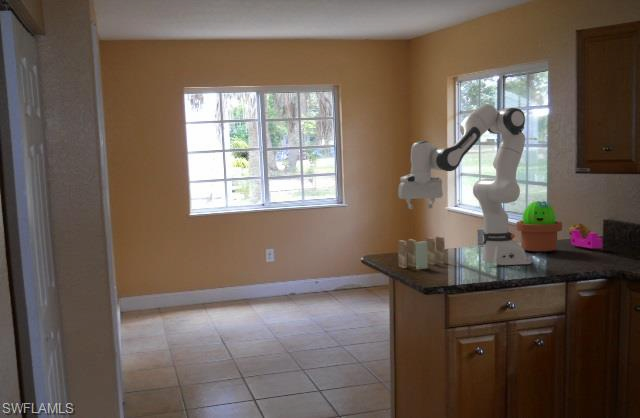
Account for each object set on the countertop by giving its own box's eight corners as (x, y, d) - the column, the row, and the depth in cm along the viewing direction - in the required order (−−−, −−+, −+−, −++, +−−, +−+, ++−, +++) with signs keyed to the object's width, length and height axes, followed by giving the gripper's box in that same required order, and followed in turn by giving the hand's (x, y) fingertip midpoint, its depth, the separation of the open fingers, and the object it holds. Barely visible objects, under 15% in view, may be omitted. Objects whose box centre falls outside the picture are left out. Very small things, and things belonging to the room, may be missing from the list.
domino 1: (411, 264, 306) (410, 239, 305) (416, 266, 302) (416, 240, 300) (408, 265, 306) (407, 239, 304) (413, 266, 301) (413, 240, 300)
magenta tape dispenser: (601, 247, 336) (601, 232, 336) (591, 248, 334) (591, 233, 334) (581, 243, 351) (581, 229, 350) (571, 244, 349) (571, 230, 348)
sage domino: (416, 268, 296) (415, 242, 295) (425, 267, 298) (425, 241, 297) (417, 269, 295) (417, 242, 294) (427, 268, 297) (427, 241, 296)
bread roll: (564, 235, 380) (564, 221, 379) (579, 234, 382) (579, 220, 382) (579, 238, 367) (579, 223, 367) (594, 237, 370) (594, 222, 369)
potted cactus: (516, 245, 351) (516, 198, 348) (560, 245, 345) (560, 197, 342) (516, 252, 330) (516, 202, 327) (563, 252, 324) (563, 201, 321)
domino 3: (438, 261, 312) (438, 236, 311) (444, 263, 307) (444, 237, 306) (436, 261, 311) (435, 236, 310) (441, 263, 307) (441, 237, 305)
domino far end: (401, 265, 304) (400, 240, 303) (407, 267, 300) (406, 241, 299) (398, 266, 304) (397, 240, 303) (403, 268, 299) (403, 241, 298)
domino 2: (429, 262, 310) (429, 237, 309) (435, 264, 305) (435, 238, 304) (426, 263, 309) (426, 237, 308) (432, 264, 305) (432, 238, 304)
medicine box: (493, 244, 356) (493, 228, 355) (492, 245, 352) (492, 229, 351) (478, 244, 359) (478, 228, 358) (477, 245, 355) (477, 229, 354)
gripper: (438, 176, 301) (438, 207, 302) (396, 177, 296) (396, 208, 297) (445, 177, 295) (444, 208, 296) (402, 178, 290) (402, 209, 291)
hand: (420, 208), depth 297 cm, fingers open, 8 cm apart
